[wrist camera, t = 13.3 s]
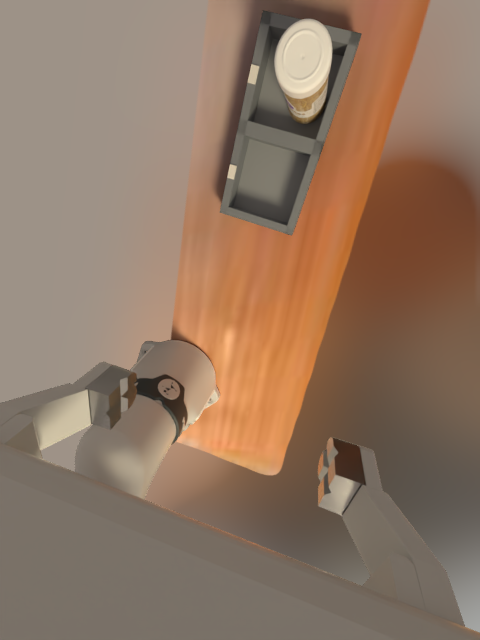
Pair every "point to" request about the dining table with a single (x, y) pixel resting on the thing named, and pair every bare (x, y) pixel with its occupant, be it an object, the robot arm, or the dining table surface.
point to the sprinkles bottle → (304, 68)
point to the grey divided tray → (279, 134)
